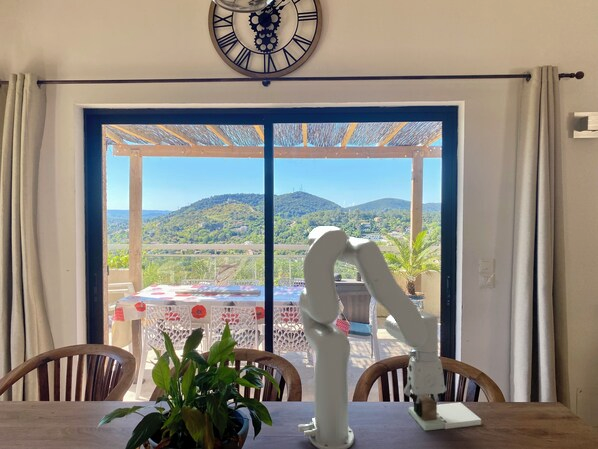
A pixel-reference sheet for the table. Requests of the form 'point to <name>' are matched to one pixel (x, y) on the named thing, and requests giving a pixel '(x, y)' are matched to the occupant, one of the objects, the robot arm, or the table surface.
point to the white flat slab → (456, 415)
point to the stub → (427, 414)
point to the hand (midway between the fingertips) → (425, 412)
